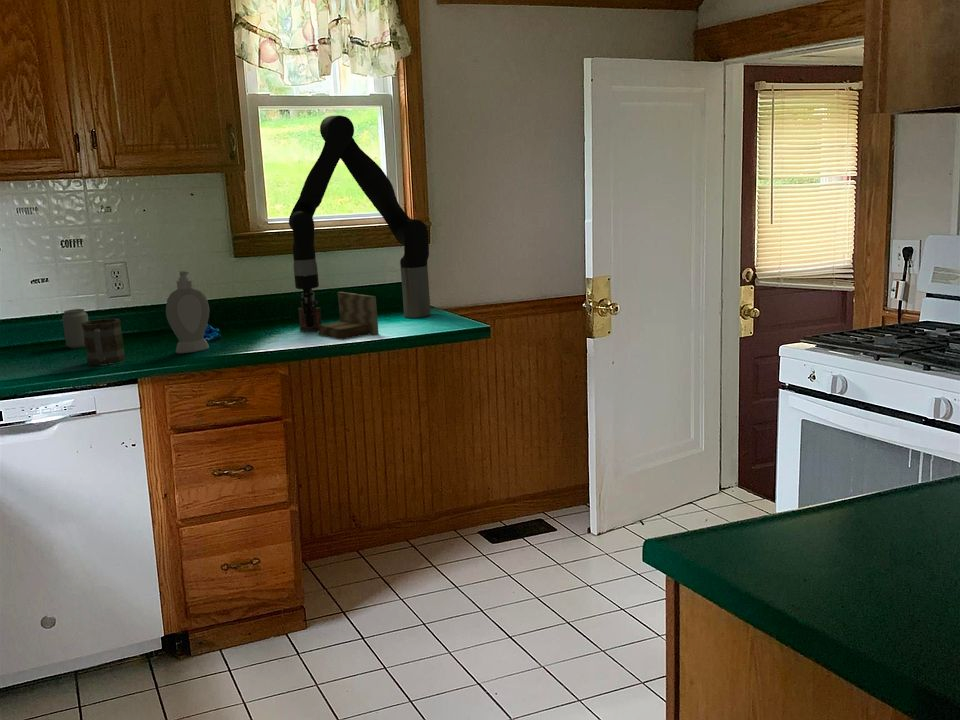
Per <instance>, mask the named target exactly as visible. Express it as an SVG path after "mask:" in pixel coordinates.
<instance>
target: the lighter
mask: <svg viewBox="0 0 960 720" xmlns="http://www.w3.org/2000/svg"><path fill="white" fill-rule="evenodd" d="M313 302H314V308H312V311H313V327H307V326H306V316H305V315H304V309H303V302H302V301H300V305H301V307H298V308H297V311H298V315H299V317H298V318H299V326H300V328H299V331H300V332H319V331H318V325H322V324H323V323H322V316H321V315H322V314H321V311H322V310H321V309H322V308H321V307H318V306H317V305H319V301H318V300H315V301H313ZM316 306H317V307H316ZM308 310H310V308H307V309H306V311H308Z"/></svg>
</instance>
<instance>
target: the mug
mask: <svg viewBox="0 0 960 720" xmlns="http://www.w3.org/2000/svg"><path fill="white" fill-rule="evenodd" d="M81 324H82V327H83V332H84V344H85V347H84V348H85V352H86V357H87V358H86V361H87V363H88V364H90V365H101V364H102V365H103V364H109V363H116V362H120V361H123V360H125V359H126V360H127V357H126V353H125V345H124V336H123V331H122V320H121V319H120V318H99V319H92V320H88V321H87V322H84V323H81ZM123 362H124V361H123ZM87 363H86V364H87ZM88 364H87V365H88ZM90 365H89V366H90Z"/></svg>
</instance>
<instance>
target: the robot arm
mask: <svg viewBox="0 0 960 720" xmlns="http://www.w3.org/2000/svg"><path fill="white" fill-rule="evenodd" d="M319 131H320V136H321V138H322V139H323V140H324V145H323V146H322V147H323V148H322V150H321V152H320V154H319V156H318V158H317V160H316V161H315V163H314V165H313V166H312V168H311V169H310V171H309V173H308V175H307V177H306V179H305V181H304V184H303V186H302V188H301V191H300V195H299V197H298V199H297V201H296V203H294V206H293V208H292V210H291V213H290V216H289V218H288V226H289V228H290V229H291V230H292V235H293V243H292V256H293V258H292V259H293V275H294V286H295V289H297V290H302V293H301V295H300V296H301V297H300V298H301V300H302V302H303V309H304V315H305V316H306V326H307V327H313V311H312V308H314V302H313V301H316V299H315V296H316V294H315V292H314V291H313V289H316V288H318V287H319V283H320V282H319V272H318V263H317V259H316V249H315V248H316V247H315V222H314V218H313V217H314V215H315V212H316V210H317V208H318V207H320V205H321V203H322V201H323V199H324V196H325V194H326V191H327V188H328V185H329V183H330V181H331V179H332V176H333V174H334V172H335V169H336V167H337V165H338V164H339V161H340V160H341V161H342V163H343V164H344V166H345V167H346V168H347V170H348V172H349V173H350V174H351V176H352V178H353V179H354V180H355V182H356V184H357V185H358V186H359V188H360V189H361V190H362V193H364V195H365V196H366V197H367V198H368V200H369V201H370V202H371V204H372V205H373V206H374V207H375V209H376V210H377V212H378V213H379V214H380V215H381V217H382V218H383V220H384V221H385V223H386V224H387V226H388V228H389V230H390V231H391V233H392V235H393V236H394V238H395V240H396V241H397V242H398V243H399V244H400V245H401V246H404V250H403V251H404V253H403V256H402V257H401V259H400V260H399V265H400V275H401V276H400V278H401V279H400V280H401V290H402V291H401V292H402V303H403V317H404V318H409V319H412V318H413V319H414V318H425V317H429V316H431V300H430V297H431V296H430V283H429V281H430V280H429V270H428V260H429V257H430V245H429V244H430V243H429V241H430V240H429V229H428V227H427V225H426V224H425V222H424V221H422V220H420V219H416V218H415V219H414V218H410V217H409V215H407V213H406V212H405V211H404V210H403V208H402V207H401V206H400V204H399V202H398V199H397V196H396V193H395V190H394V189H395V188H394V187H393V184H392V182H391V181H390V178H388V176H387V175H386V173H385V172H384V171H383V169H382V168H381V167H380V166H379V164H377V162H375V160H374V159H372V158H371V156H369V155H368V154H367V153H366V152H364V151H363V150H362V149H361V147H360V146H359V145H358V144H357V141H356V140H355V139H354V134H355V127H354V124H353V122H352V120H351V119H350V118H349V117H347V116H345V115H330V116H327V117H324V119H323V120H321V122H320V125H319ZM307 308H310V310H308V311H306V309H307Z"/></svg>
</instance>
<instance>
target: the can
mask: <svg viewBox="0 0 960 720" xmlns="http://www.w3.org/2000/svg"><path fill="white" fill-rule="evenodd" d="M61 318H62V324H63V325H62V326H63V332H64V339H65V345H66V347H68V348H69V349H72V350H75V349H84V348H85V344H84V332H83V327H82V324H81V323H84V322H87V321H89V316H88V313H87V312H86V311H85V309H84V308H73V309H68V310H65V311H63V315H62V317H61Z"/></svg>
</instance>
